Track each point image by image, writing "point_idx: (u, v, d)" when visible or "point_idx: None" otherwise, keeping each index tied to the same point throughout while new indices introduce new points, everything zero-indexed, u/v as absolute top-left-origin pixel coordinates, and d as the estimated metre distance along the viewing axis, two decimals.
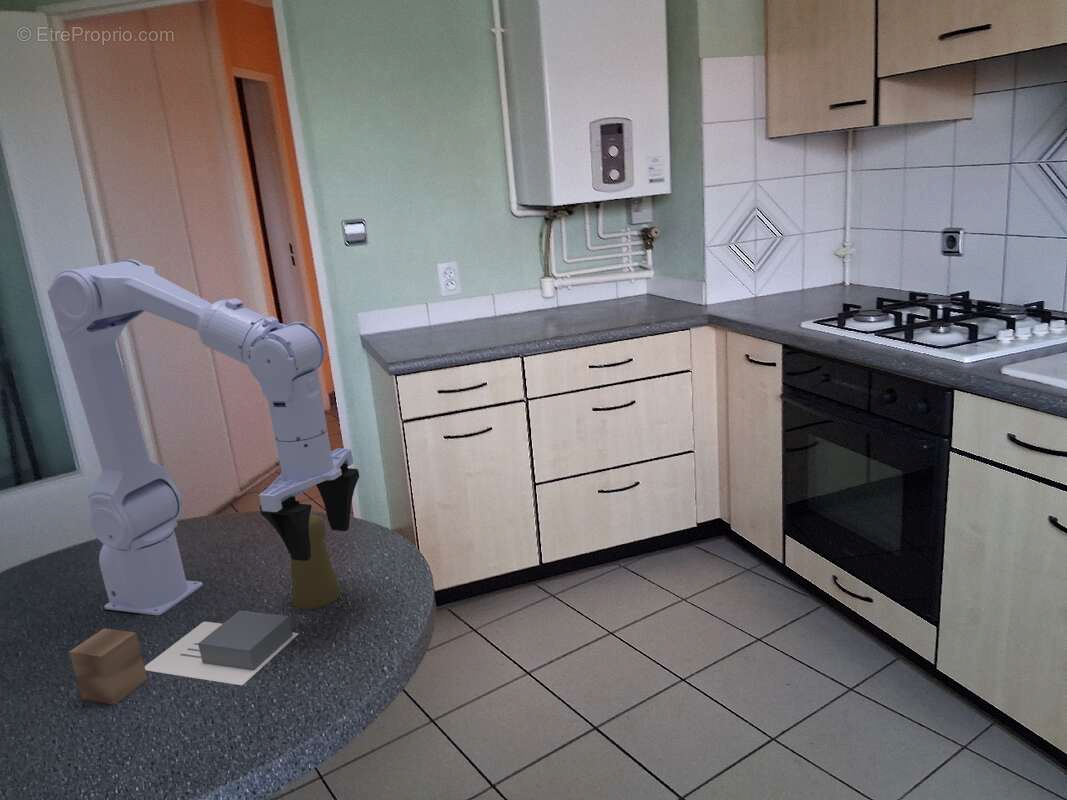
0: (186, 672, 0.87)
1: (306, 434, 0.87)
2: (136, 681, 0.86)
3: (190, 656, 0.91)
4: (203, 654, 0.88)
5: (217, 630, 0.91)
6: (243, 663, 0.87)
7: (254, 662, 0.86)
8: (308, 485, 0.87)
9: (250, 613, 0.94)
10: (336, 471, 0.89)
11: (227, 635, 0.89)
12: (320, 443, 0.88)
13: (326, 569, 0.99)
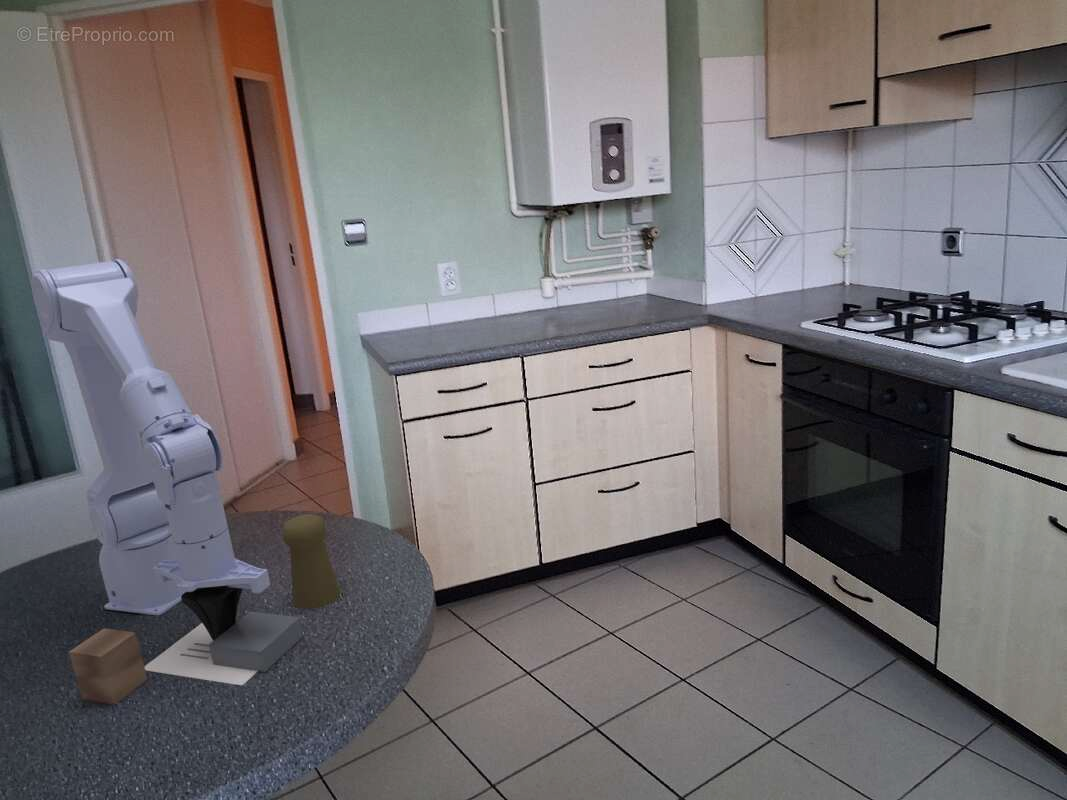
0: (186, 672, 0.87)
1: (191, 538, 0.85)
2: (136, 681, 0.86)
3: (190, 656, 0.91)
4: (214, 656, 0.88)
5: (228, 631, 0.90)
6: (254, 665, 0.86)
7: (265, 664, 0.86)
8: (174, 580, 0.88)
9: (260, 614, 0.93)
10: (184, 585, 0.86)
11: (238, 637, 0.89)
12: (180, 551, 0.86)
13: (326, 569, 0.99)
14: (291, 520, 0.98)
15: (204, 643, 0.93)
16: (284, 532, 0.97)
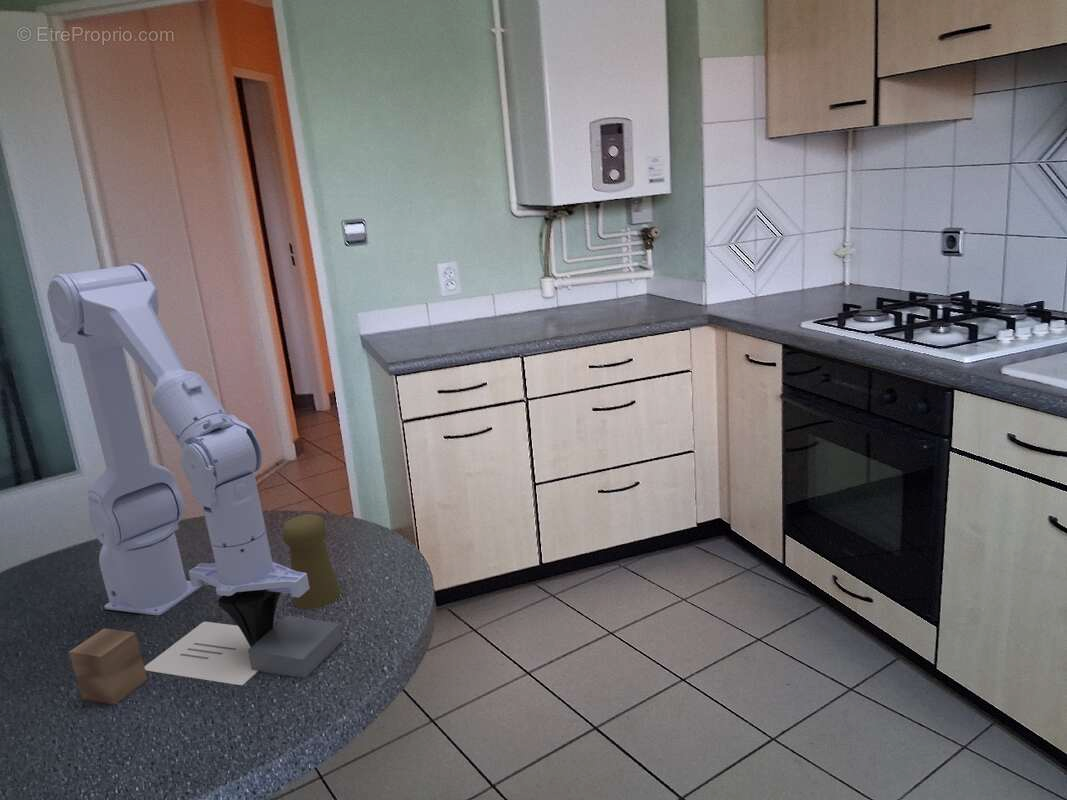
0: (186, 672, 0.87)
1: (232, 541, 0.83)
2: (136, 681, 0.86)
3: (190, 656, 0.91)
4: (253, 661, 0.86)
5: (266, 636, 0.88)
6: (295, 672, 0.84)
7: (306, 672, 0.84)
8: (211, 583, 0.87)
9: (298, 619, 0.91)
10: (223, 589, 0.84)
11: (278, 642, 0.87)
12: (219, 554, 0.84)
13: (326, 569, 0.99)
14: (291, 520, 0.98)
15: (204, 643, 0.93)
16: (284, 532, 0.97)
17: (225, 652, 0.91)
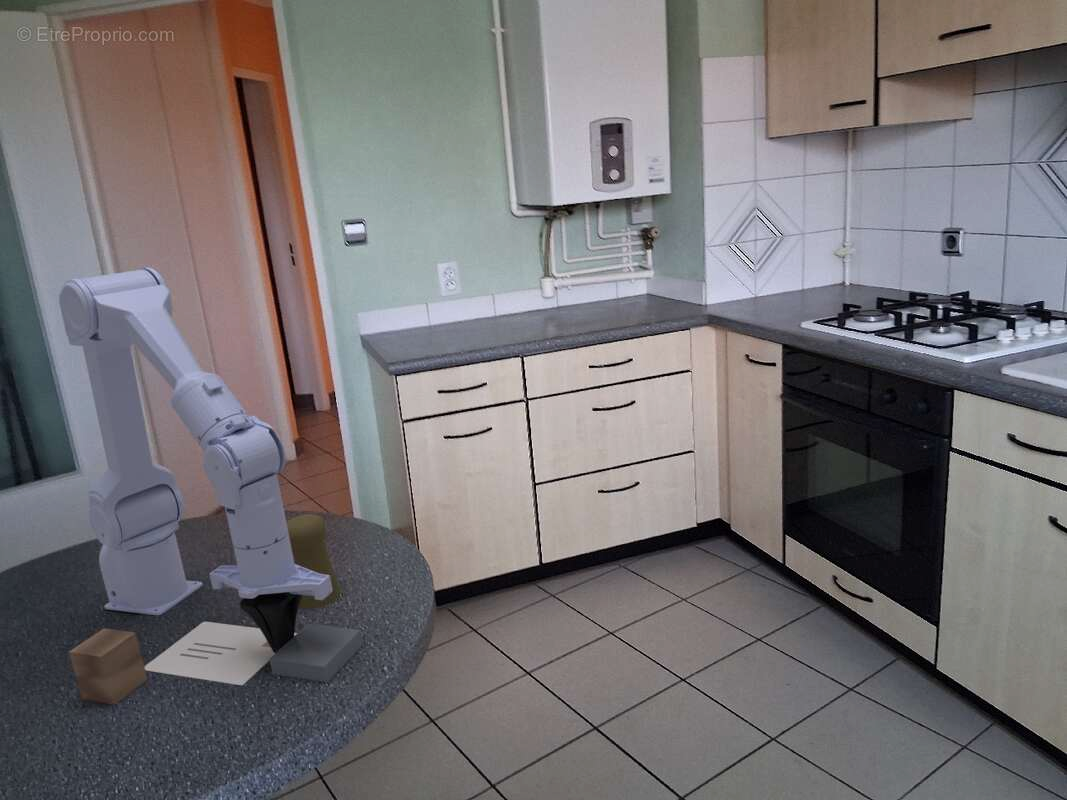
0: (186, 672, 0.87)
1: (256, 543, 0.82)
2: (136, 681, 0.86)
3: (190, 656, 0.91)
4: (274, 670, 0.85)
5: (287, 645, 0.87)
6: (317, 680, 0.83)
7: (328, 679, 0.83)
8: (233, 586, 0.86)
9: (319, 626, 0.90)
10: (246, 592, 0.83)
11: (299, 650, 0.86)
12: (241, 556, 0.83)
13: (326, 569, 0.99)
14: (291, 520, 0.98)
15: (204, 643, 0.93)
16: None
17: (225, 652, 0.91)
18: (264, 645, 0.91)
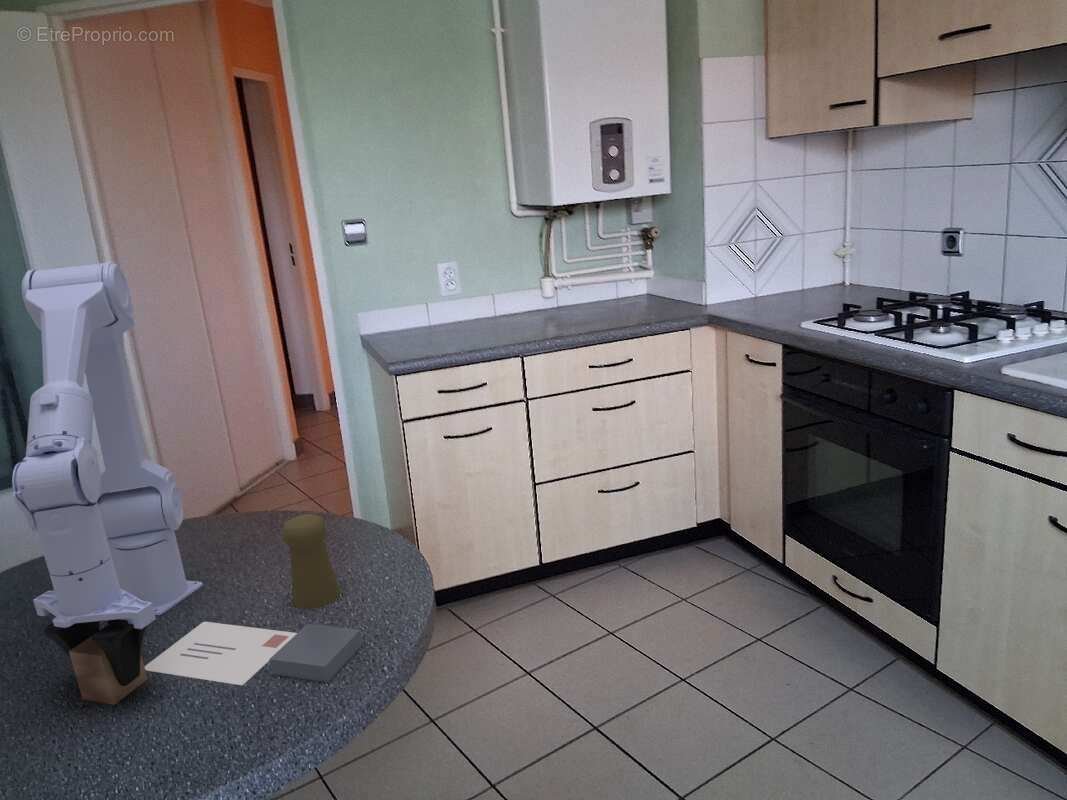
0: (186, 672, 0.87)
1: (52, 570, 0.79)
2: (136, 681, 0.86)
3: (190, 656, 0.91)
4: (275, 670, 0.85)
5: (287, 645, 0.87)
6: (317, 680, 0.83)
7: (329, 679, 0.83)
8: (53, 613, 0.82)
9: (318, 626, 0.90)
10: (60, 620, 0.79)
11: (299, 650, 0.86)
12: (55, 583, 0.80)
13: (326, 569, 0.99)
14: (291, 520, 0.98)
15: (204, 643, 0.93)
16: (284, 532, 0.97)
17: (225, 652, 0.91)
18: (264, 645, 0.91)
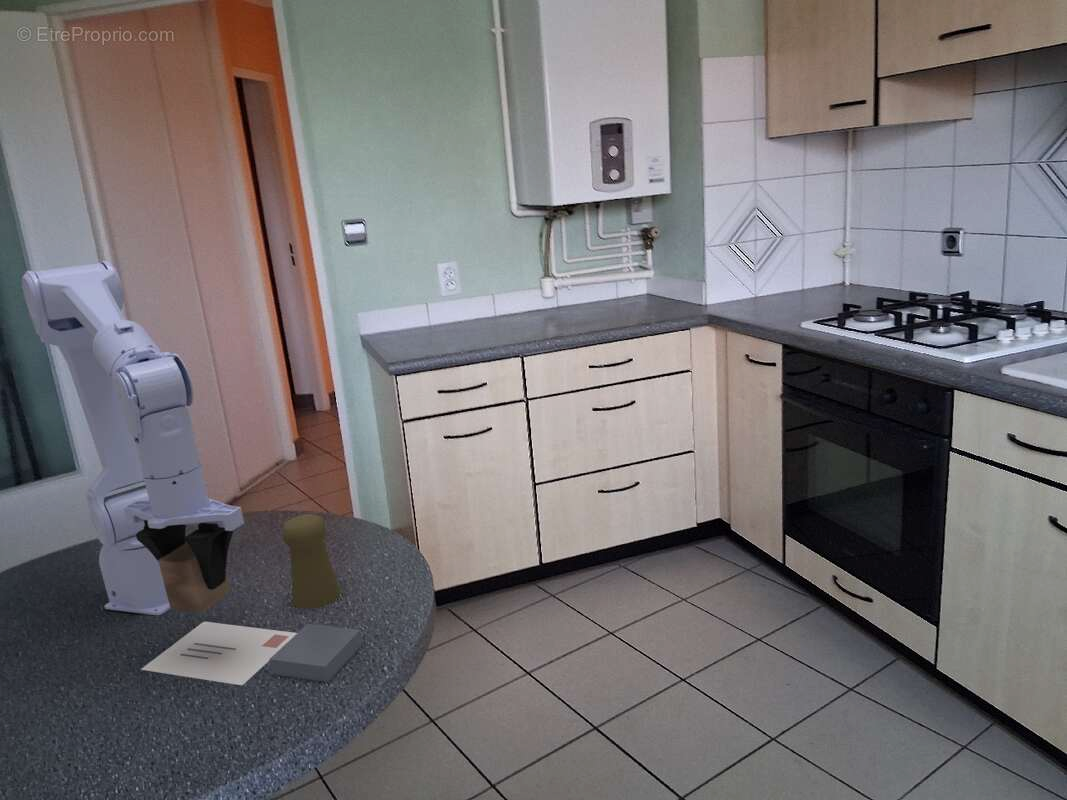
0: (186, 672, 0.87)
1: (159, 473, 0.82)
2: (220, 591, 0.89)
3: (190, 656, 0.91)
4: (275, 670, 0.85)
5: (287, 645, 0.87)
6: (318, 680, 0.83)
7: (329, 679, 0.83)
8: (145, 518, 0.86)
9: (318, 626, 0.90)
10: (155, 522, 0.83)
11: (299, 651, 0.86)
12: (150, 487, 0.83)
13: (326, 569, 0.99)
14: (291, 520, 0.98)
15: (204, 643, 0.93)
16: (284, 532, 0.97)
17: (225, 652, 0.91)
18: (264, 645, 0.91)
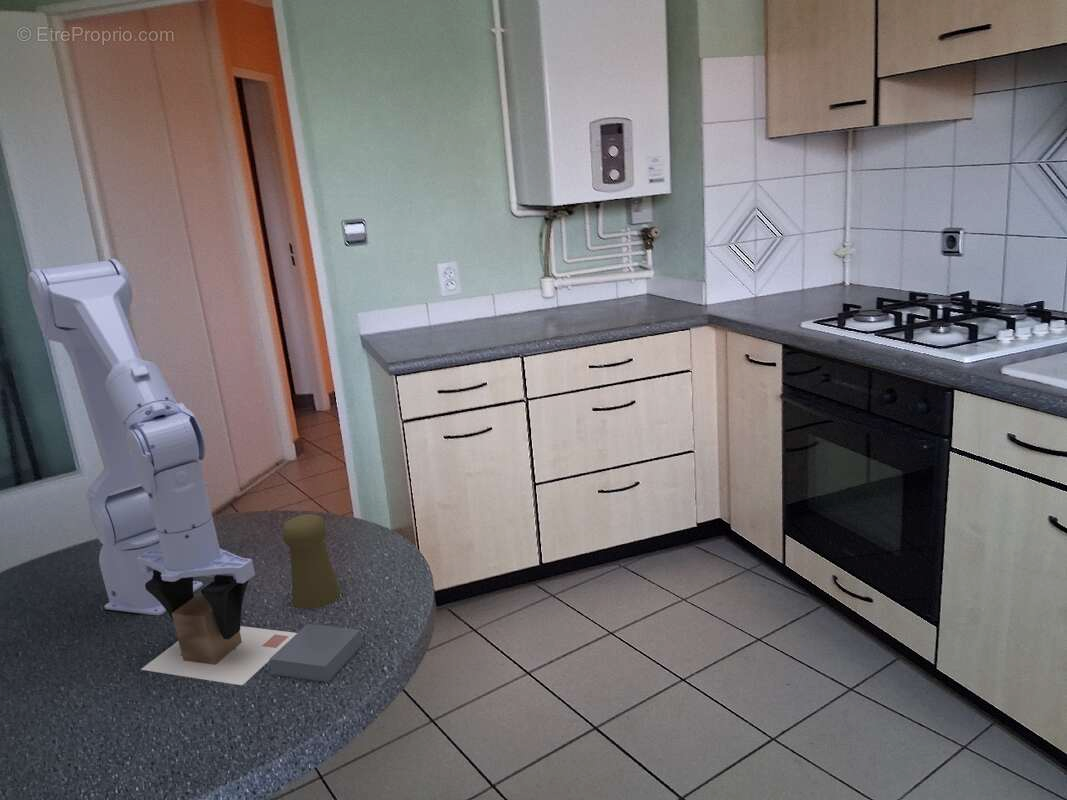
0: (186, 672, 0.87)
1: (172, 528, 0.84)
2: (232, 642, 0.91)
3: None
4: (275, 670, 0.85)
5: (287, 645, 0.87)
6: (318, 679, 0.83)
7: (329, 679, 0.83)
8: (158, 570, 0.87)
9: (318, 626, 0.90)
10: (168, 575, 0.85)
11: (299, 650, 0.86)
12: (163, 540, 0.85)
13: (326, 569, 0.99)
14: (291, 520, 0.98)
15: None
16: (284, 532, 0.97)
17: None
18: (264, 645, 0.91)
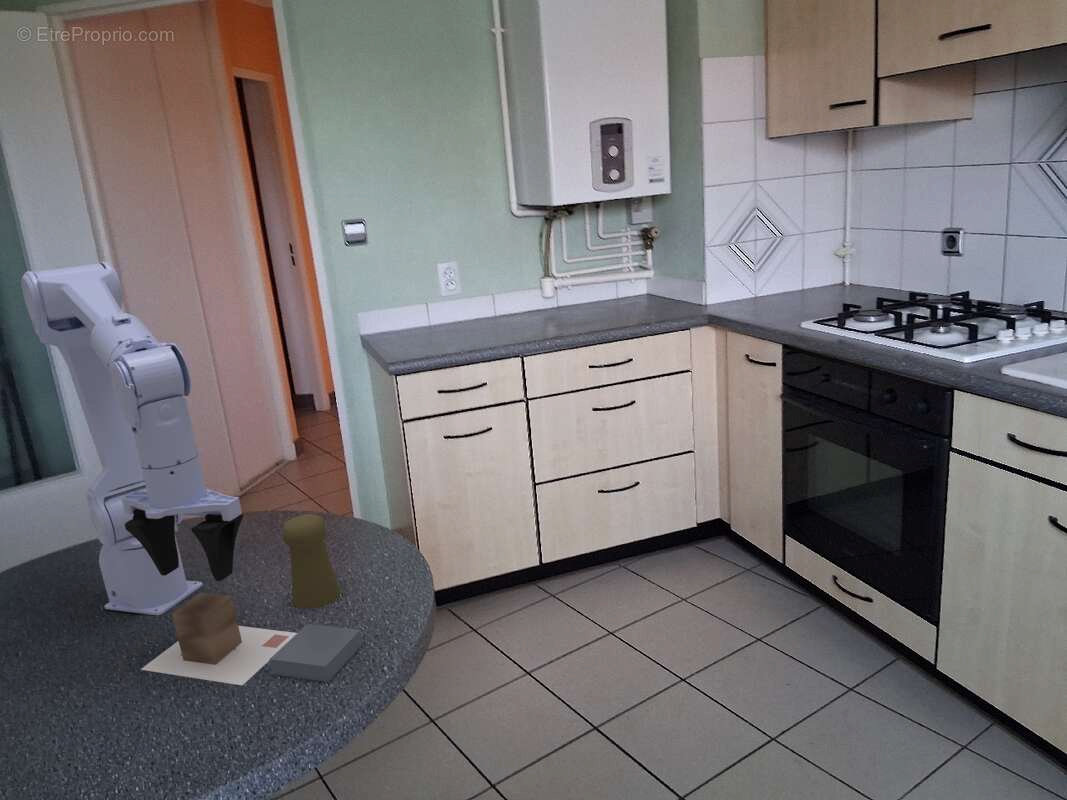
0: (186, 672, 0.87)
1: (157, 463, 0.82)
2: (232, 642, 0.91)
3: None
4: (275, 670, 0.85)
5: (287, 645, 0.87)
6: (318, 679, 0.83)
7: (329, 679, 0.83)
8: (143, 509, 0.85)
9: (318, 626, 0.90)
10: (152, 512, 0.83)
11: (299, 650, 0.86)
12: (148, 477, 0.83)
13: (326, 569, 0.99)
14: (291, 520, 0.98)
15: None
16: (284, 532, 0.97)
17: None
18: (264, 645, 0.91)
